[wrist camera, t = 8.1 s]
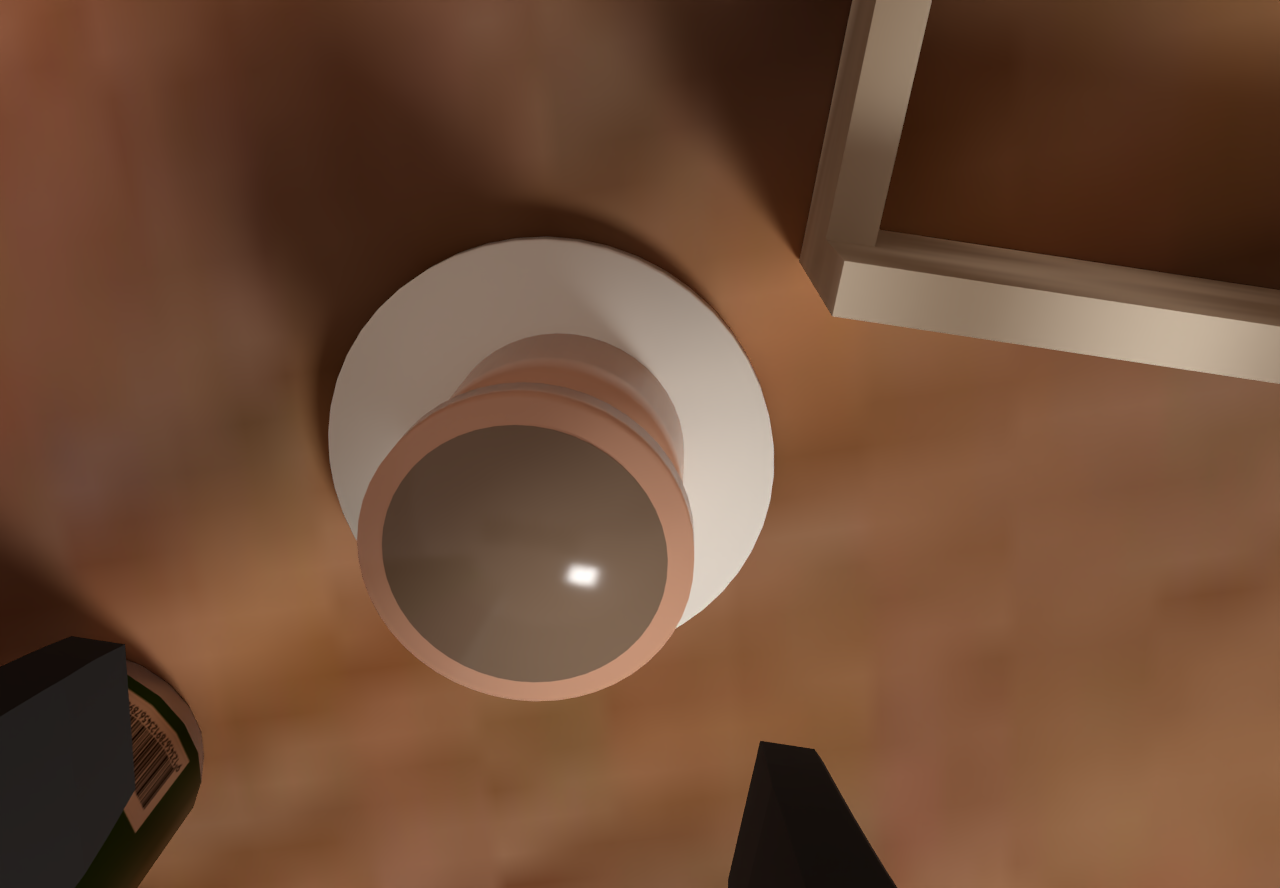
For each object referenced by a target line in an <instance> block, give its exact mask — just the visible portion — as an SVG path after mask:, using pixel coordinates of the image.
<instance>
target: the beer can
mask: <svg viewBox="0 0 1280 888" xmlns="http://www.w3.org/2000/svg"><path fill="white" fill-rule="evenodd" d="M126 666H127V679H128V693H129V706H130V720H131V733H132V747H133V760H134V774H135V788H136V789H135V791H134V792H133V794H132V796H131V798H130V799H129V801H128V803H127V805H126V806H125V808H124V810H123V812H122V813H121V815H120V817H119V819H118V820H117V822H116V824H115V825H114V827H113V829H112V831H111V832H110V834H109V836H108V837H107V839H106V841H105V842H104V844H103V846H102V847H101V849H100V850H99V852H98V854H97V855H96V857H95V858H94V860H93V862H92V863H91V865H90V867H89V868H88V870H87V871H86V873H85V875H84V876H83V877H82V879H81V880H80V881H79V883H78V884H77V885H76V887H75V888H137V887H138V886H139V884H140V883H141V881H142V880H143V879H144V877H145V876H146V874H147V873H148V871H149V870H150V869H151V867H152V866H153V864H154V863H155V861H156V860H157V858H158V857H159V856H160V854H161V853H162V851H163V850H164V848H165V847H166V846H167V844H168V843H169V841H170V840H171V838H172V837H173V835H174V834H175V833H176V831H177V830H178V828H179V827H180V825H181V824H182V822H183V821H184V820H185V818H186V817H187V815H188V814H189V812H190V811H191V810H192V808H193V806H194V803H195V800H196V797H197V794H198V790H199V787H200V784H201V779H202V769H203V759H204V755H203V745H202V735H201V731H200V729H199V726H198V724H197V722H196V720H195V718H194V716H193V714H192V712H191V710H190V707H189V706H188V705H187V704H186V703H185V702H184V700H183V699H182V698H181V697H180V696H179V695H178V694H177V693H176V691H175V690H174V689H173V688H172V687H171V686H170V685H169V684H168V683H167V682H165V681H164V680H162V679H161V678H159V677H158V676H156V675H155V674H153V673H152V672H150V671H149V670H147V669H146V668H144V667H143V666H141V665H139V664H136V663H133V662H131V661H128V660H126Z"/></svg>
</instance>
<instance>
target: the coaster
mask: <svg viewBox="0 0 1280 888" xmlns="http://www.w3.org/2000/svg"><path fill="white" fill-rule="evenodd" d="M555 333H560V334H575V335H580V336H586V337H591V338H594V339H597V340H600V341H603V342H606V343H608V344H610V345H613V346H615V347H617V348H619V349H621V350H623V351H624V352H626V353H627V354H629V355H631V356H632V357H634V358H635V359H636V360H638V361H639V362H640V363H641V364H642V365H644V366H645V367H646V368H647V369H648V370H649V371H650V372H651V373H652V374H653V375H654V376H655V377H656V378H657V379H658V381H659V382H660V383H661V385H662V386H663V388H664V389H665V390H666V392H667V393H668V395H669V397H670V399H671V401H672V403H673V405H674V407H675V409H676V412H677V415H678V417H679V420H680V424H681V429H682V433H683V441H684V475H683V485H684V488H685V491H686V493H687V496H688V499H689V503H690V507H691V512H692V516H693V527H694V571H693V582H692V586H691V591H690V595H689V600H688V602H687V605H686V607H685V610H684V613H683V615H682V618H681V619H680V621H679V623H678V625H677V627H679V626H681V625H682V624H684V623H685V622H686V621H688V620H689V619H691V618H692V617H693V616H695V615H696V614H698V613H699V612H701V611H702V610H703V609H704V608H705V607H706V606H707V605H709V604H710V603H711V602H712V601H713V600H714V599H715V598H716V597H717V596H718V595H719V594H721V593H722V591H723V590H724V589H725V588H726V587H727V585H728V584H729V583H730V582H731V581H732V579H733V578H734V577H735V576H736V575H737V573H738V572H739V570H740V569H741V567H742V566H743V564H744V562H745V561H746V559H747V558H748V556H749V554H750V553H751V551H752V549H753V547H754V545H755V543H756V540H757V538H758V536H759V534H760V531H761V529H762V527H763V524H764V520H765V517H766V513H767V510H768V506H769V503H770V498H771V490H772V483H773V476H774V446H773V439H772V432H771V425H770V419H769V414H768V410H767V406H766V403H765V399H764V396H763V393H762V389H761V386H760V382H759V380H758V378H757V376H756V373H755V371H754V369H753V367H752V365H751V362H750V360H749V358H748V356H747V354H746V353H745V351H744V349H743V348H742V346H741V345H740V343H739V341H738V340H737V338H736V337H735V335H734V334H733V332H732V331H731V329H730V328H729V327H728V326H727V325H726V323H725V322H724V321H723V320H722V319H721V317H720V316H719V315H718V314H717V313H716V311H715V310H714V309H713V308H712V307H711V306H710V305H709V304H708V303H707V302H705V301H704V300H703V299H702V298H701V297H700V296H699V295H698V294H697V293H696V292H694V291H693V290H692V289H691V288H690V287H689V286H687V285H686V284H684V283H683V282H681V281H680V280H678V279H677V278H676V277H674V276H673V275H671V274H670V273H668V272H667V271H666V270H664V269H662V268H660V267H658V266H656V265H654V264H652V263H650V262H648V261H646V260H644V259H642V258H641V257H639V256H636V255H633V254H631V253H628V252H625V251H622V250H620V249H617V248H614V247H611V246H608V245H604V244H599V243H595V242H590V241H586V240H581V239H573V238H562V237H550V236H544V237H524V238H513V239H508V240H503V241H497V242H492V243H487V244H484V245H481V246H478V247H475V248H472V249H469V250H466V251H463V252H460V253H458V254H456V255H454V256H452V257H450V258H448V259H446V260H444V261H442V262H440V263H438V264H436V265H434V266H432V267H430V268H429V269H427V270H426V271H425V272H423V273H422V274H420V275H419V276H417V277H416V278H414V279H413V280H412V281H410V282H409V283H407V284H406V285H404V286H403V287H401V288H400V289H399V290H398V291H397V292H396V293H395V294H394V295H392V296H391V297H390V298H389V299H388V300H387V301H386V302H385V303H384V304H383V305H382V306H381V307H380V308H379V309H378V310H377V311H376V312H375V314H374V315H373V316H372V317H371V319H370V320H369V321H368V322H367V324H366V325H365V326H364V327H363V329H362V330H361V332H360V333H359V335H358V337H357V338H356V340H355V342H354V344H353V345H352V347H351V349H350V350H349V352H348V354H347V356H346V359H345V361H344V364H343V366H342V369H341V371H340V374H339V376H338V379H337V382H336V386H335V390H334V395H333V399H332V403H331V408H330V419H329V430H328V441H329V460H330V466H331V471H332V477H333V482H334V487H335V490H336V493H337V496H338V499H339V502H340V505H341V508H342V511H343V514H344V516H345V518H346V520H347V522H348V524H349V526H350V529H351V531H352V533H353V535H354V537H355V539H356V540H357V533H358V519H359V515H360V510H361V506H362V501H363V498H364V496H365V493H366V491H367V488H368V485H369V483H370V481H371V479H372V477H373V476H374V474H375V472H376V470H377V469H378V467H379V465H380V464H381V462H382V461H383V460H384V459H385V457H386V456H387V455H388V454H389V452H390V451H391V450H392V449H393V447H394V446H395V445H396V444H397V443H398V441H399V440H400V439H401V438H402V437H403V435H404V434H405V433H406V432H407V431H408V430H409V429H410V428H411V427H412V426H413V425H414V424H415V423H416V422H417V421H418V420H419V419H420V418H421V417H422V416H424V415H425V414H427V413H428V412H430V411H431V410H432V409H434V408H435V407H437V406H438V405H440V404H442V403H444V402H445V401H447V400H449V399H450V397H451V396H452V395H453V393H454V392H455V391H456V390H457V388H458V387H459V386H460V385H461V383H462V382H463V381H464V380H465V378H466V377H467V376H468V375H469V373H470V372H471V371H472V370H473V369H474V368H475V367H476V366H477V365H478V364H479V363H480V362H481V361H482V360H483V359H485V358H486V357H487V356H489V355H490V354H492V353H493V352H494V351H496V350H498V349H500V348H502V347H504V346H506V345H508V344H509V343H512V342H515V341H518V340H520V339H523V338H527V337H532V336H536V335H542V334H555ZM677 627H676V628H677Z"/></svg>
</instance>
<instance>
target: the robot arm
mask: <svg viewBox="0 0 1280 888" xmlns="http://www.w3.org/2000/svg"><path fill="white" fill-rule="evenodd" d="M135 789H136V788H135V774H134V760H133V747H132V733H131V720H130V706H129V693H128V679H127V666H126V652H125V644H119V643H112V642H106V641H99V640H92V639H86V638H79V637H73V636H71V637H69V638H66V639H64V640H61V641H58V642H56V643H53V644H51V645H48V646H46V647H44V648H41V649H39V650H37V651H34V652H32V653H30V654H28V655H25V656H23V657H21V658H19V659H16V660H14V661H12V662H10V663H8V664H5V665H3V666H1V667H0V888H75V887H76V885H77V884H78V883H79V881H80V880H81V879H82V877H83V876H84V875H85V873H86V871H87V870H88V868H89V867H90V865H91V863H92V862H93V860H94V858H95V857H96V855H97V854H98V852H99V850H100V849H101V847H102V846H103V844H104V842H105V841H106V839H107V837H108V836H109V834H110V832H111V831H112V829H113V827H114V825H115V824H116V822H117V820H118V819H119V817H120V815H121V813H122V812H123V810H124V808H125V806H126V805H127V803H128V801H129V799H130V798H131V796H132V794H133V792H134V791H135ZM728 888H897V887H896V885H895V884H894V882H893V880H892V879H891V877H890V876H889V874H888V873H887V871H886V870H885V868H884V866H883V865H882V863H881V861H880V860H879V858H878V857H877V855H876V853H875V852H874V850H873V848H872V847H871V845H870V843H869V842H868V840H867V838H866V837H865V835H864V833H863V831H862V830H861V828H860V826H859V825H858V823H857V821H856V820H855V818H854V816H853V814H852V813H851V811H850V809H849V807H848V806H847V804H846V802H845V800H844V799H843V797H842V795H841V793H840V792H839V790H838V788H837V786H836V784H835V783H834V781H833V779H832V777H831V775H830V774H829V772H828V770H827V768H826V766H825V765H824V763H823V761H822V759H821V758H820V756H819V755H818V754H817V752H816V751H815V749H810V748H803V747H797V746H790V745H784V744H777V743H770V742H764V741H760V745H759V749H758V753H757V758H756V762H755V766H754V770H753V775H752V779H751V783H750V788H749V792H748V796H747V801H746V805H745V809H744V814H743V818H742V822H741V827H740V831H739V835H738V840H737V844H736V848H735V853H734V857H733V861H732V865H731V870H730V874H729V878H728Z"/></svg>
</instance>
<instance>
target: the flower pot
mask: <svg viewBox="0 0 1280 888" xmlns="http://www.w3.org/2000/svg"><path fill="white" fill-rule="evenodd" d="M683 475H684V441H683V433H682V429H681V424H680V420H679V417H678V415H677V412H676V409H675V407H674V405H673V403H672V401H671V399H670V397H669V395H668V393H667V392H666V390H665V389H664V388H663V386H662V385H661V383H660V382H659V381H658V379H657V378H656V377H655V376H654V375H653V374H652V373H651V372H650V371H649V370H648V369H647V368H646V367H645V366H644V365H642V364H641V363H640V362H639V361H638V360H636V359H635V358H634V357H632V356H631V355H629V354H627V353H626V352H624V351H623V350H621V349H619V348H617V347H615V346H613V345H610V344H608V343H606V342H603V341H600V340H597V339H594V338H591V337H586V336H580V335H575V334H560V333H555V334H542V335H536V336H532V337H527V338H523V339H520V340H518V341H515V342H512V343H509V344H508V345H506V346H504V347H502V348H500V349H498V350H496V351H494V352H493V353H492V354H490V355H489V356H487V357H486V358H485V359H483V360H482V361H481V362H480V363H479V364H478V365H477V366H476V367H475V368H474V369H473V370H472V371H471V372H470V373H469V375H468V376H467V377H466V378H465V380H464V381H463V382H462V383H461V385H460V386H459V387H458V388H457V390H456V391H455V392H454V393H453V395H452V396H451V397H450V399H449V400H447V401H445V402H444V403H442V404H440V405H438V406H437V407H435V408H434V409H432V410H431V411H430V412H428V413H427V414H425V415H424V416H422V417H421V418H420V419H419V420H418V421H417V422H416V423H415V424H414V425H413V426H412V427H411V428H410V429H409V430H408V431H407V432H406V433H405V434H404V435H403V437H402V438H401V439H400V440H399V441H398V443H397V444H396V445H395V446H394V447H393V449H392V450H391V451H390V452H389V454H388V455H387V456H386V457H385V459H384V460H383V461H382V462H381V464H380V465H379V467H378V469H377V470H376V472H375V474H374V476H373V477H372V479H371V481H370V483H369V485H368V488H367V491H366V493H365V496H364V498H363V501H362V506H361V510H360V515H359V519H358V533H357V545H358V558H359V563H360V568H361V572H362V577H363V580H364V583H365V586H366V588H367V591H368V594H369V596H370V598H371V600H372V602H373V604H374V606H375V608H376V610H377V612H378V614H379V615H380V617H381V618H382V620H383V621H384V623H385V624H386V625H387V627H388V628H389V630H390V631H391V632H392V633H393V635H394V636H395V637H396V638H397V639H398V640H399V641H400V642H401V643H402V645H403V646H404V647H405V648H406V649H408V650H409V651H410V652H411V653H412V654H413V655H414V656H415V657H417V658H418V659H419V660H420V661H421V662H423V663H424V664H426V665H427V666H429V667H430V668H431V669H433V670H434V671H436V672H437V673H439V674H441V675H443V676H445V677H446V678H448V679H450V680H452V681H454V682H456V683H458V684H461V685H463V686H465V687H468V688H470V689H473V690H475V691H479V692H482V693H486V694H489V695H492V696H497V697H502V698H508V699H514V700H526V701H551V700H561V699H568V698H574V697H579V696H582V695H586V694H589V693H593V692H596V691H599V690H601V689H604V688H606V687H608V686H611V685H613V684H615V683H617V682H619V681H621V680H622V679H624V678H626V677H628V676H629V675H631V674H633V673H634V672H635V671H637V670H638V669H639V668H641V667H642V666H643V665H645V664H646V663H647V662H648V661H649V660H650V659H651V658H652V657H653V656H654V655H655V654H656V653H657V652H658V651H659V650H660V649H661V648H662V647H663V645H664V644H665V643H666V642H667V640H668V639H669V638H670V636H671V635H672V634H673V632H674V630H675V628H676V627H677V625H678V623H679V621H680V619H681V618H682V615H683V613H684V610H685V607H686V605H687V602H688V600H689V595H690V591H691V586H692V582H693V571H694V527H693V516H692V512H691V507H690V503H689V499H688V496H687V493H686V491H685V488H684V485H683Z"/></svg>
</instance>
